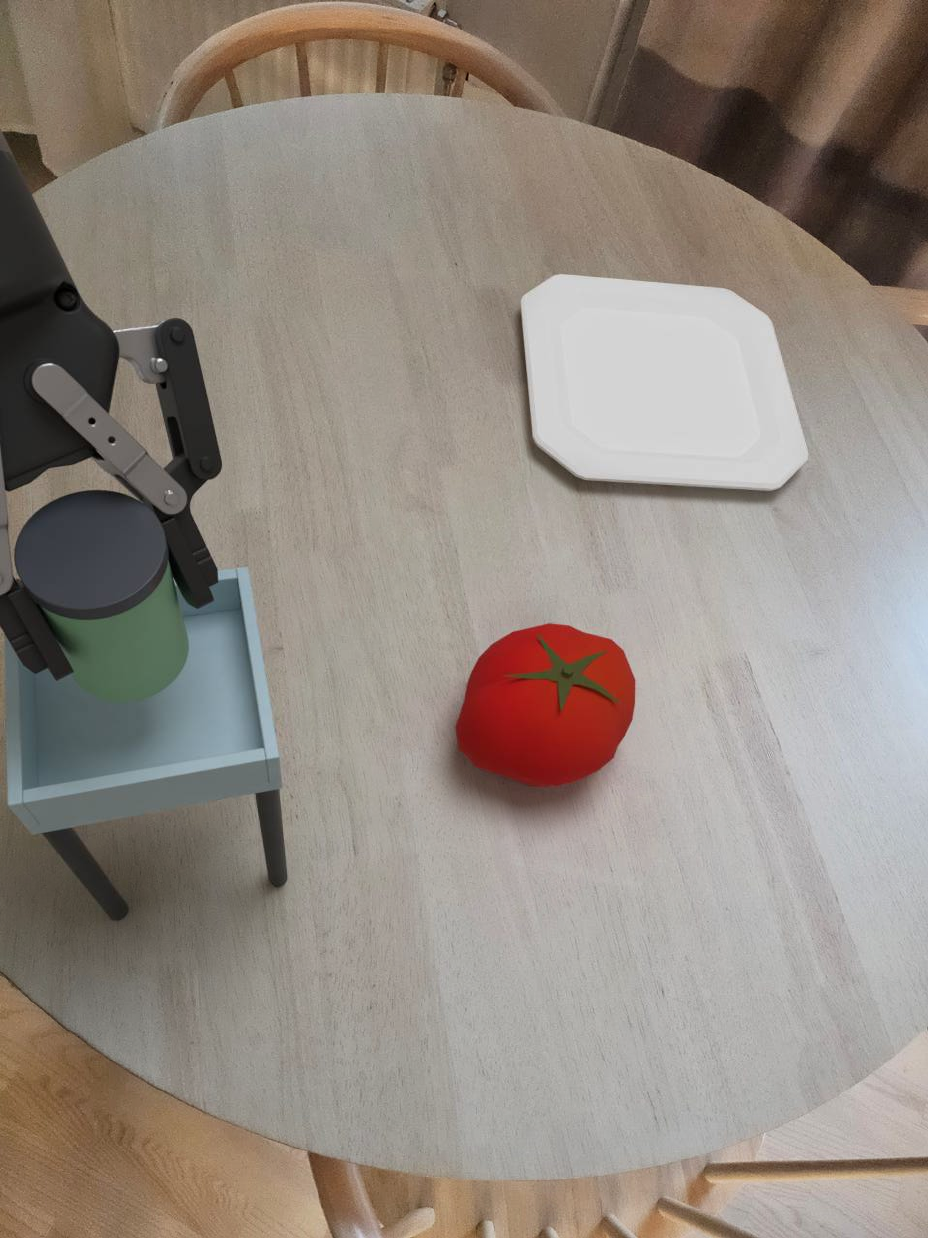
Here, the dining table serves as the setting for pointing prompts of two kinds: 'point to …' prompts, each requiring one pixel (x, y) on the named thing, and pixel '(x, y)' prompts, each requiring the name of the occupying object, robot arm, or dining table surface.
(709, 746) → the dining table surface
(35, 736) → the tray
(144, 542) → the plastic tub
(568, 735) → the tomato
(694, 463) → the plate
